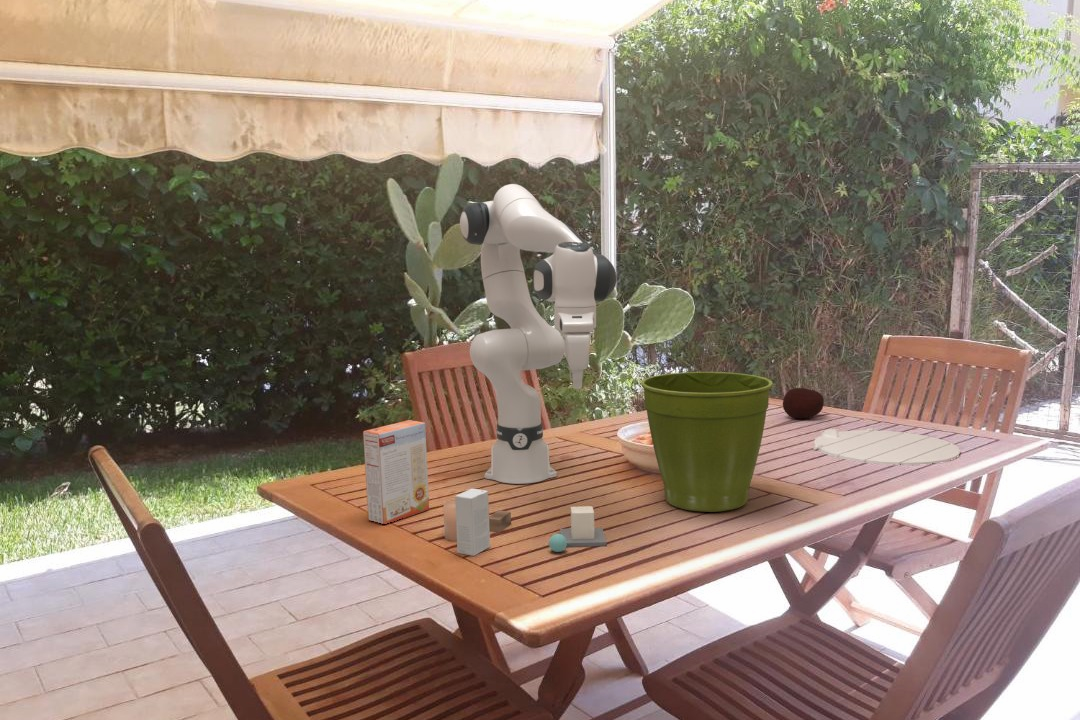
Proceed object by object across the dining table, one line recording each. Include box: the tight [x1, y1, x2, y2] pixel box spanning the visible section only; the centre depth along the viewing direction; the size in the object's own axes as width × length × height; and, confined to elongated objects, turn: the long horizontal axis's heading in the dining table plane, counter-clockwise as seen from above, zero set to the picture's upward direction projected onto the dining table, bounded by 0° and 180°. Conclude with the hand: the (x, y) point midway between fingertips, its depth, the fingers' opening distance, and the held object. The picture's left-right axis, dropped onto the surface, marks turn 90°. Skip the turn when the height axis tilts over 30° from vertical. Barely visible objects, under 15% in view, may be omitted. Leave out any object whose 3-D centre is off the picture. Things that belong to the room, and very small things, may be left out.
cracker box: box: [362, 419, 430, 525], centre depth 209 cm, size 14×6×21 cm, turn 141°
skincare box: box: [454, 488, 491, 557], centre depth 186 cm, size 6×4×12 cm
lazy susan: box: [813, 427, 961, 466], centre depth 265 cm, size 40×39×3 cm
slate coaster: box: [559, 527, 607, 548], centre depth 192 cm, size 9×9×1 cm
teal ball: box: [548, 533, 567, 553], centre depth 185 cm, size 4×4×4 cm
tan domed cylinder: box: [443, 499, 457, 543], centre depth 195 cm, size 7×7×7 cm
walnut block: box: [489, 509, 512, 533], centre depth 201 cm, size 6×3×3 cm, turn 159°
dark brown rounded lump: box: [782, 387, 825, 420], centre depth 306 cm, size 11×13×10 cm
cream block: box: [570, 505, 595, 539], centre depth 192 cm, size 4×4×6 cm
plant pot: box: [640, 371, 773, 513], centre depth 215 cm, size 30×30×29 cm
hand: (575, 384), depth 197 cm, fingers open, 8 cm apart
